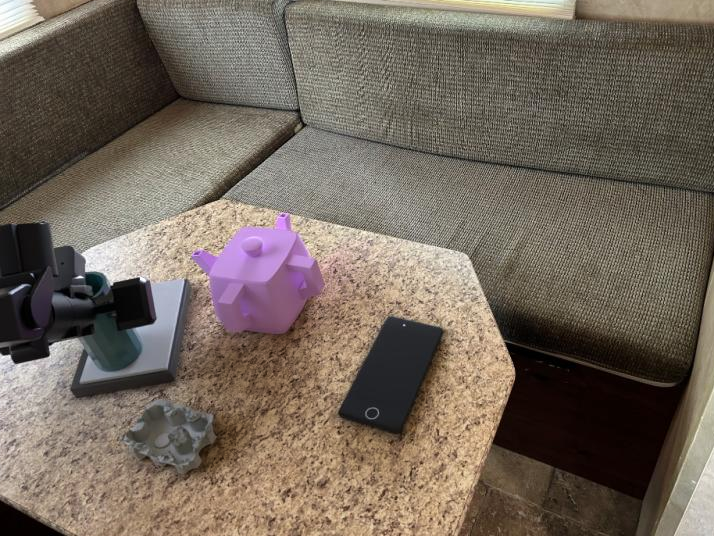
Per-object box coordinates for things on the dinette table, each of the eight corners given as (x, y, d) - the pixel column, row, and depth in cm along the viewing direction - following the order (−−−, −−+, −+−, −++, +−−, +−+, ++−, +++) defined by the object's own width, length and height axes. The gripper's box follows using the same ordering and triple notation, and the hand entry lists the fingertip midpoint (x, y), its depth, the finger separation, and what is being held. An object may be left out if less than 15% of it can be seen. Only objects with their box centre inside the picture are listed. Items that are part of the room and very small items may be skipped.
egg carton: (123, 456, 78) (110, 439, 75) (161, 409, 83) (150, 390, 80) (190, 482, 74) (179, 464, 72) (225, 430, 79) (216, 412, 77)
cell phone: (337, 417, 79) (336, 413, 79) (388, 319, 92) (388, 315, 91) (400, 436, 76) (400, 431, 76) (444, 332, 89) (444, 327, 88)
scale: (75, 398, 86) (67, 386, 84) (107, 300, 101) (101, 289, 99) (175, 381, 86) (169, 369, 85) (191, 287, 102) (187, 275, 100)
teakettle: (237, 359, 89) (213, 299, 81) (203, 292, 100) (180, 234, 92) (340, 309, 95) (328, 249, 87) (297, 251, 106) (282, 194, 98)
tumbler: (119, 377, 84) (79, 312, 76) (84, 364, 87) (41, 301, 79) (152, 341, 89) (117, 277, 81) (118, 330, 92) (81, 267, 83)
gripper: (119, 231, 71) (159, 245, 87) (-49, 264, 69) (23, 272, 85) (135, 325, 70) (173, 321, 86) (-34, 361, 68) (36, 351, 84)
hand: (101, 314), depth 85 cm, fingers closed on tumbler, 7 cm apart
